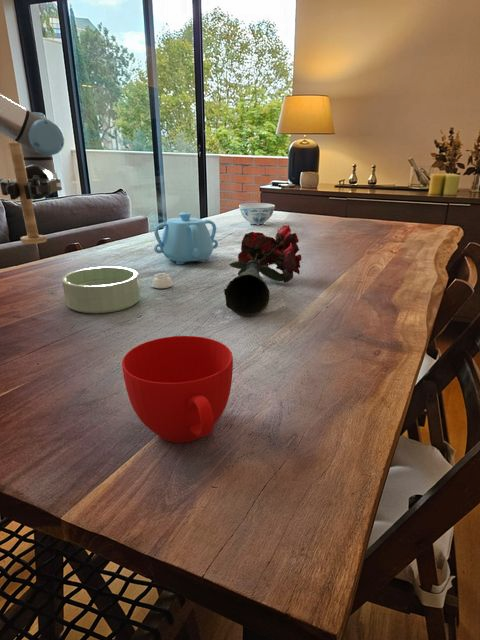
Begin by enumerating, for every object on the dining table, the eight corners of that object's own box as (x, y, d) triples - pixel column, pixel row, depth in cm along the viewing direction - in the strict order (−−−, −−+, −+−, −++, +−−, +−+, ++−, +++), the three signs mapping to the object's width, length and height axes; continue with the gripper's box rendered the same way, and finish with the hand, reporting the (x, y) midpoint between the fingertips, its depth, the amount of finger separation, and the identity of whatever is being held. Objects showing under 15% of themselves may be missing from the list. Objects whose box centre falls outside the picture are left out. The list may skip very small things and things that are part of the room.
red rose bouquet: (253, 350, 98) (260, 291, 128) (323, 299, 92) (313, 250, 122) (203, 297, 92) (223, 248, 123) (273, 239, 86) (276, 203, 117)
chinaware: (276, 221, 201) (277, 203, 198) (271, 227, 188) (271, 208, 184) (243, 220, 203) (243, 202, 200) (235, 226, 190) (235, 206, 187)
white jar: (150, 284, 113) (154, 290, 109) (149, 273, 112) (153, 278, 108) (169, 282, 115) (175, 288, 111) (169, 271, 114) (174, 276, 110)
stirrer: (18, 241, 102) (-3, 142, 93) (42, 238, 105) (24, 142, 97) (25, 245, 98) (4, 143, 90) (50, 241, 102) (32, 143, 93)
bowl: (55, 300, 102) (50, 274, 99) (120, 287, 111) (117, 263, 109) (84, 320, 91) (79, 291, 89) (153, 303, 101) (150, 277, 98)
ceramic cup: (151, 495, 47) (141, 413, 43) (122, 413, 61) (113, 345, 57) (264, 462, 52) (265, 386, 48) (213, 393, 66) (211, 329, 62)
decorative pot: (224, 257, 141) (223, 211, 135) (195, 269, 128) (193, 219, 122) (181, 251, 147) (178, 207, 141) (149, 262, 134) (144, 214, 128)
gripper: (71, 197, 116) (63, 210, 96) (4, 198, 112) (-19, 212, 92) (66, 165, 113) (56, 172, 93) (-3, 165, 109) (-28, 172, 89)
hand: (19, 192), depth 92 cm, fingers closed on stirrer, 2 cm apart
